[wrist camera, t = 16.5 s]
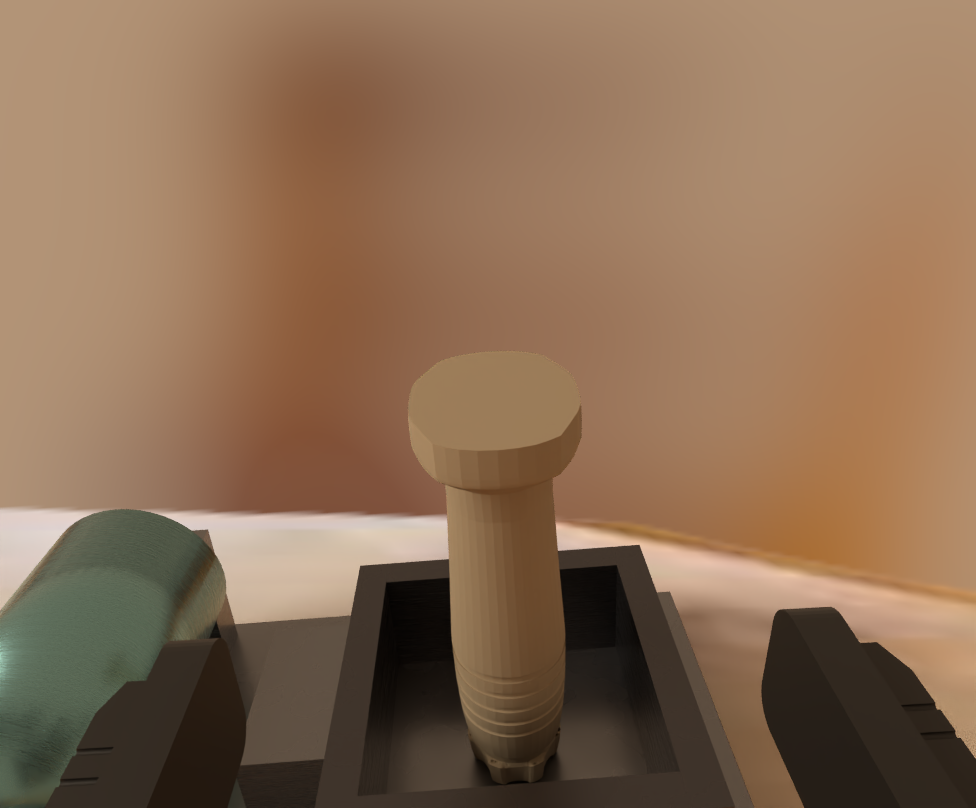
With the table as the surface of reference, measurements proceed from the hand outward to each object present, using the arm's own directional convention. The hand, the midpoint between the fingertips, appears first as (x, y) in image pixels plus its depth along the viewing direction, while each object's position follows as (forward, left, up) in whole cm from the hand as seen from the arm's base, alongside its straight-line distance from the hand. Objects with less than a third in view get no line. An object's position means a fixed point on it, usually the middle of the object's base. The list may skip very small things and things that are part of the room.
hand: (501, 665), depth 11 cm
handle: (+11, +2, -16) cm, 19 cm away
